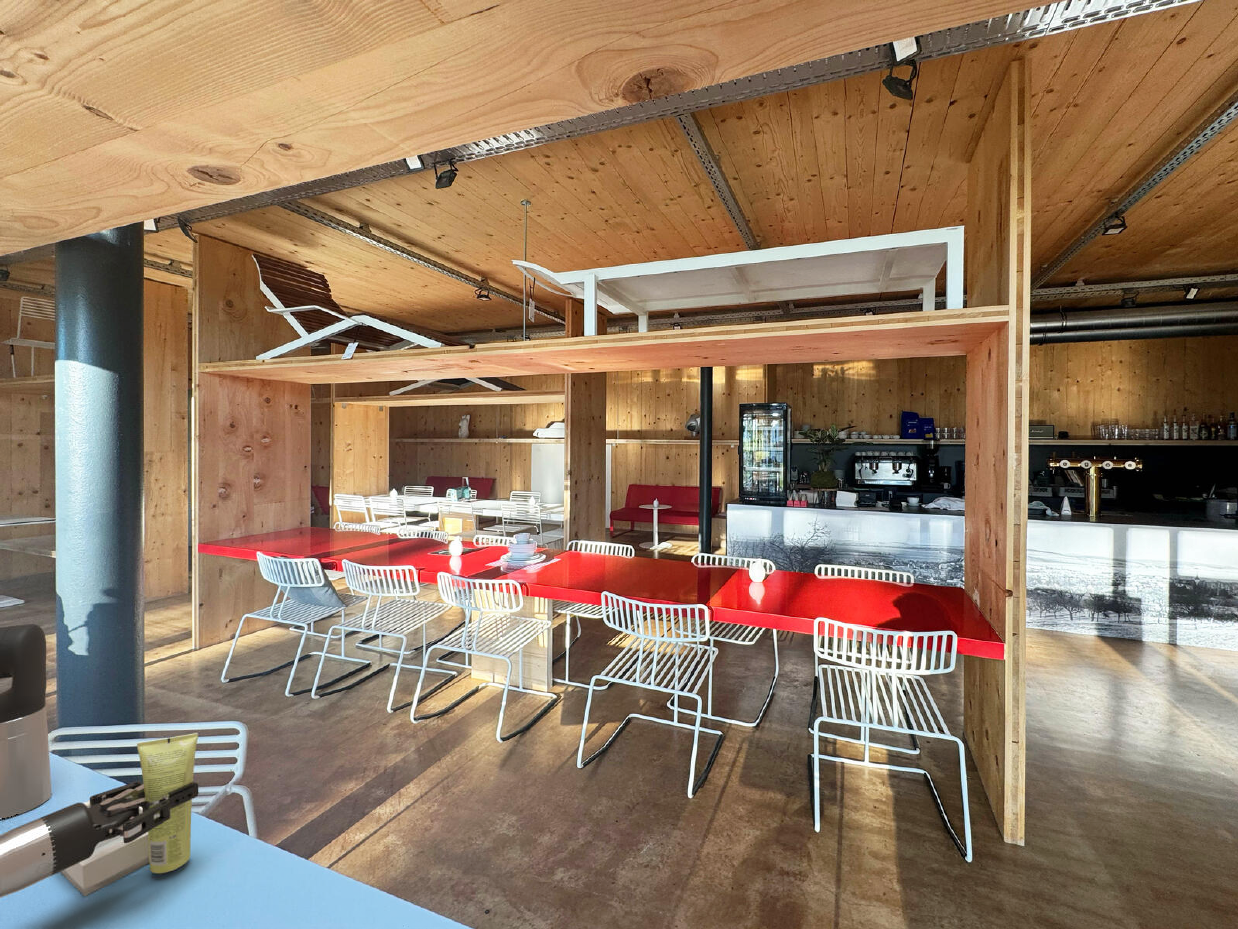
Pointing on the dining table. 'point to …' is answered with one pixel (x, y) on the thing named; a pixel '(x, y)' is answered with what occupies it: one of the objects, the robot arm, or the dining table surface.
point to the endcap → (109, 863)
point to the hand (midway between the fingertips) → (188, 783)
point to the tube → (163, 773)
